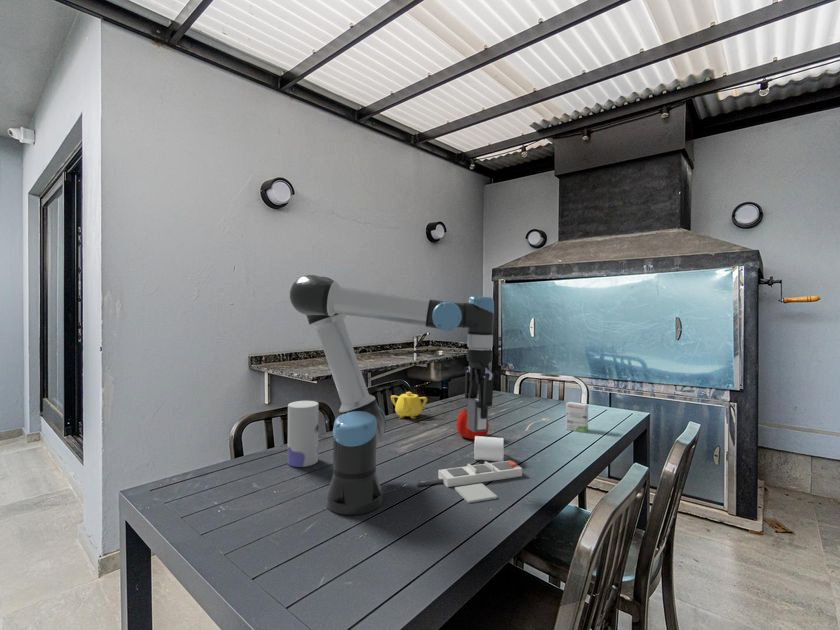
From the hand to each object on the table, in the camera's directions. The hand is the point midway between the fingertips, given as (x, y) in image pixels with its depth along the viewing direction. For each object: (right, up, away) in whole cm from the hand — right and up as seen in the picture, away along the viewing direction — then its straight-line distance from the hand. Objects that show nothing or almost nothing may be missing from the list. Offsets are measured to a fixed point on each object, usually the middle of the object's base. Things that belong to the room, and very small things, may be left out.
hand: (476, 426), depth 125 cm
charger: (0, -1, 0) cm, 1 cm away
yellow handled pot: (-23, -16, +76) cm, 81 cm away
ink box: (+52, -18, +60) cm, 81 cm away
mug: (+8, -18, +24) cm, 31 cm away
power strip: (-2, -18, +6) cm, 19 cm away
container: (-57, -17, +18) cm, 62 cm away
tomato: (+4, -17, +48) cm, 51 cm away
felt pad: (-1, -18, -4) cm, 19 cm away
